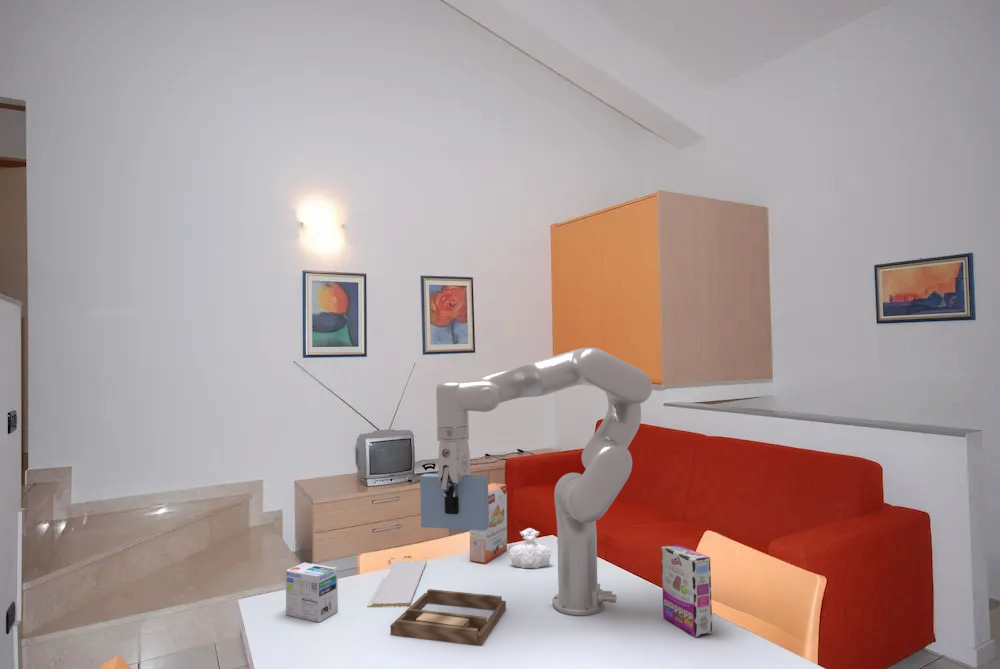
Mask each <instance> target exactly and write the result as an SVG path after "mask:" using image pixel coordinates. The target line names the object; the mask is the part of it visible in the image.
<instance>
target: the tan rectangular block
mask: <svg viewBox="0 0 1000 669" xmlns="http://www.w3.org/2000/svg"><path fill="white" fill-rule="evenodd" d="M416 622H424V623H433V624H441V625H450V626H459V627H467V626H468V625H469V619H466V618H459V617H452V616H445V615H437V614H430V613H423V614H422V615H420V616H419V617H418V618H417V619H416Z"/></svg>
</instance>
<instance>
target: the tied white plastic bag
mask: <svg viewBox="0 0 1000 669" xmlns="http://www.w3.org/2000/svg"><path fill="white" fill-rule="evenodd" d="M519 534H520V535H521V537H522V540H524V542H523V543H519V544H517V545H515V546H512V547H511V548H510V549H509V552H508V553H509V558H510V561H511V564H512V565H513V566H514V567H517V568H522V569H536V570H537V569H539V568H542V567H546V566H548V564H549V563H550V558H551V549H550V548H549V547H548V546H544V545H543V544H540V543H536V541H535V540H537V539H538V536H539V535H540V531H538V530H535V529H534V528H532V527H528V528H526V529H524V530H522V531H519Z"/></svg>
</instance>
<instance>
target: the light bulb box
mask: <svg viewBox="0 0 1000 669" xmlns="http://www.w3.org/2000/svg"><path fill="white" fill-rule="evenodd" d="M338 584H339V583H338V567H336V566H329V565H323V564H321V565H320V564H316V563H310V562H302V563H300V564H298V565H295V566H293V567H290V568H288V569H286V570H285V615H286V616H289V617H290V616H291V617H295V618H299V619H303V620H308V621H313V622H317V623H321V622H322V621H324V620H326V619H327V618H330V617H331V616H333V615H334V614H336V613H338V612H339V598H338V597H339V593H338Z"/></svg>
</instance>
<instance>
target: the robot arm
mask: <svg viewBox="0 0 1000 669" xmlns="http://www.w3.org/2000/svg"><path fill="white" fill-rule="evenodd" d="M586 383H587V384H588V383H589V384H590V385H592V386H594V387H596V388H598V389H600V390H602V391H603V392H605V395H606V397H607V403H608V405H607V406H608V408H607V412H606V415H605V417H604V418H603V419H602V421H601V423H600V425H599V426H598V428H597V429H596V430H595V432H594V434H593V436H592V437H591V438H590V440H588V442H587V443H586V445H585V446H584V448H583V450H582V453H581V463H582V465H583V467H584V469H585V470H584V472H583V473H582V474H581V473H578V472H569V473H566V474H564V475H563V476H561V477H560V478H559V479H558V481H557V482H556V485H555V487H554V493H553V494H554V495H553V497H554V499H553V500H554V507H555V514H556V528H557V529H556V532H557V533H556V534H557V535H556V536H557V537H556V538H557V539H556V541H557V542H556V543H557V580H558V581H557V583H558V585H557V587H558V591H557V592H558V593H557V594H555V595H554V596H553V597H552V603H551V604H552V606H553V608H554V609H556V610H557V611H559V612H561V613H564V614H567V615H572V616H573V615H574V616H589V615H594V614H597V613H599V612H601V611H602V610H603V609H604V608H605V603H606V602H607V603H612V604H615V603H617V594H616V593H615V594H614V593H613V591H612V590H603V588H602V589H601V583H599V582H598V551H597V550H598V549H597V548H598V546H597V545H598V543H597V539H598V538H597V537H598V534H597V533H598V532H597V524H596V523H597V521H598V520H600V519H601V518H602V517H603V516H604V515H605V513H607V511H608V509H610V508H611V505H612V504H613V503H614V501H615V499H616V498H617V496H618V495H619V494H620V492H621V490H622V489H623V487H624V485H625V484H626V482H627V481H628V479H629V477H630V475H631V472H632V468H633V458H632V454H631V452H630V450H629V449H628V448H629V446H630V444H631V443H632V441H633V439H634V438H635V436H636V434H637V432H638V430H639V429H640V424H641V420H642V406H641V404H643V403H645V402H646V401H647V400H648V399H649V398H650V396H651V395H652V392H653V384H652V380H651V379H650V377H649V376H648V375H647V373H645V371H643V370H641V369H640V368H638V367H636V366H633V364H630V363H627V362H626V361H624V360H622V359H620V358H618V357H617V356H615V355H612V354H610V353H608V352H606V351H605V350H602V349H600V348H598V347H583V348H582V347H581V348H577V349H574V350H570V351H567V352H563V353H561V354H557V355H554V356H550V357H547V358H543V359H539V360H536V361H533V362H530V363H526V364H523V365H521V366H519V367H515V368H511V369H508V370H505V371H501V372H497V373H494V374H491V375H490V374H489V375H487V376H484V377H480V378H477V379H475V380H473V381H471V382H464V381H441V382H438V384H437V385H436V388H435V390H436V392H435V394H436V396H435V397H436V400H435V401H436V438H437V440H436V441H437V442H439V445H438V459H437V460H438V462H437V463H438V465H437V466H438V467H437V468H438V470H437V471H438V473H437V474H439V482H440V483H441V484H442V486H441V488H442V490H443V491H444V497H445V513H446V514H458V513H459V507H458V496H457V484H460V483H462V482H463V477H465V476H466V475H472V469H471V455H470V447H469V440H470V434H469V426H470V424H469V412H481V413H487V412H492V411H494V410H495V409H497V408H498V406H499V405H500V404H501V403H504V402H508V401H512V400H516V399H517V400H518V399H522V398H535V397H542V396H546V395H549V394H552V393H556V392H559V391H562V390H565V389H569V388H573V387H576V386H578V385H582V384H586ZM449 481H452V482H453V483H449ZM450 486H453V489H452V487H450Z"/></svg>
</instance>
